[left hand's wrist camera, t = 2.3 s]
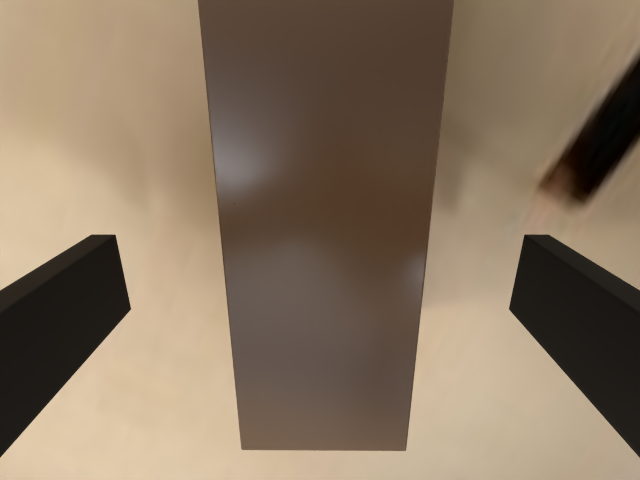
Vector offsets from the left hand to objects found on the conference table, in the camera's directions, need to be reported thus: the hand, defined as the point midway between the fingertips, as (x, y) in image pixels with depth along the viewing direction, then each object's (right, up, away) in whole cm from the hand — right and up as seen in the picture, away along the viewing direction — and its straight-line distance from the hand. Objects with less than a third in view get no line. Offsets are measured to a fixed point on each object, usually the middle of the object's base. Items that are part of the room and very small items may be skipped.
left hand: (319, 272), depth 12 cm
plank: (0, +22, -3) cm, 22 cm away
